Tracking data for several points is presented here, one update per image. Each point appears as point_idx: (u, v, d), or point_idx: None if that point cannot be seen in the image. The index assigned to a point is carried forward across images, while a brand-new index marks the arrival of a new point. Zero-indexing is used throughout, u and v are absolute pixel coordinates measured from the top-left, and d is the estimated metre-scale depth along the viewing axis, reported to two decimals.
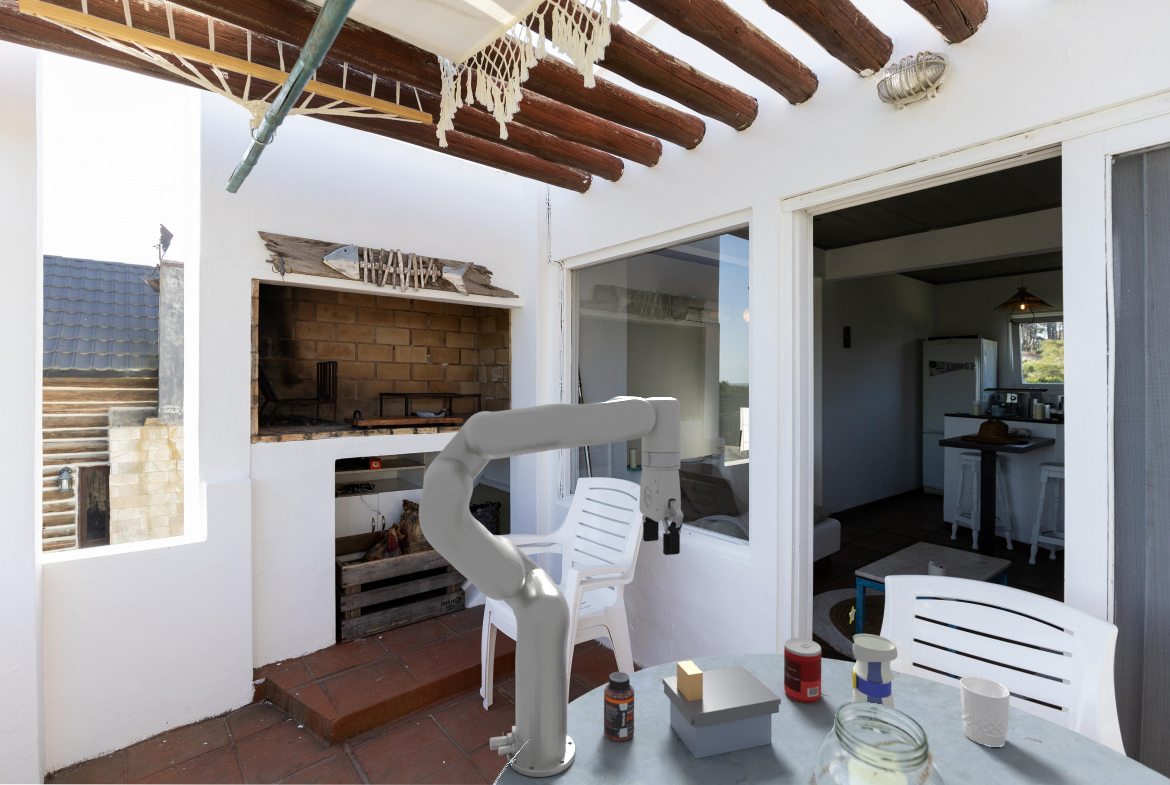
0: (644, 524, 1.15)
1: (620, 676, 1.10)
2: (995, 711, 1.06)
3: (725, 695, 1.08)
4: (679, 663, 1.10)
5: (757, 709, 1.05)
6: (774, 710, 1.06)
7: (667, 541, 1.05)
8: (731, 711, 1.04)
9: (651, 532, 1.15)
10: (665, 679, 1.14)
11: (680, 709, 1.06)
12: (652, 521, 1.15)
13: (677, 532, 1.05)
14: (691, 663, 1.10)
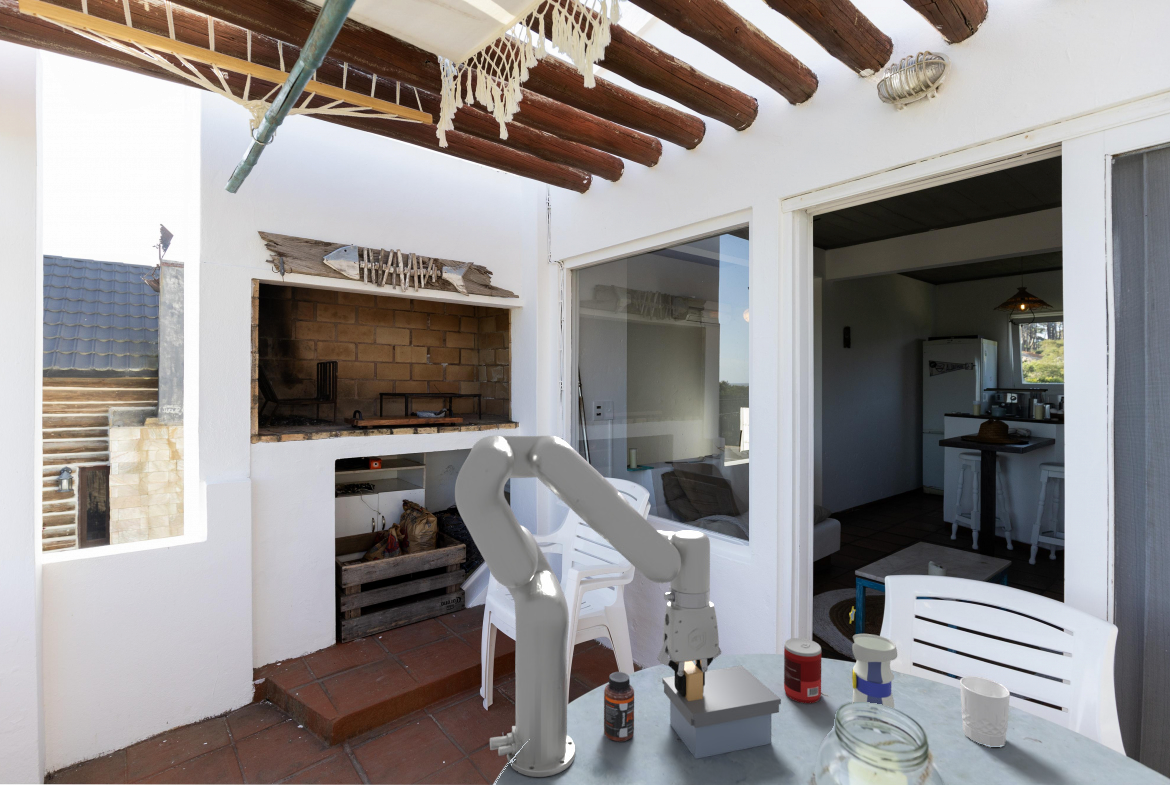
0: (685, 678, 1.07)
1: (620, 676, 1.10)
2: (995, 711, 1.06)
3: (725, 695, 1.08)
4: None
5: (757, 709, 1.05)
6: (774, 710, 1.06)
7: None
8: (731, 711, 1.04)
9: None
10: (665, 679, 1.14)
11: (680, 709, 1.06)
12: None
13: None
14: (691, 663, 1.10)
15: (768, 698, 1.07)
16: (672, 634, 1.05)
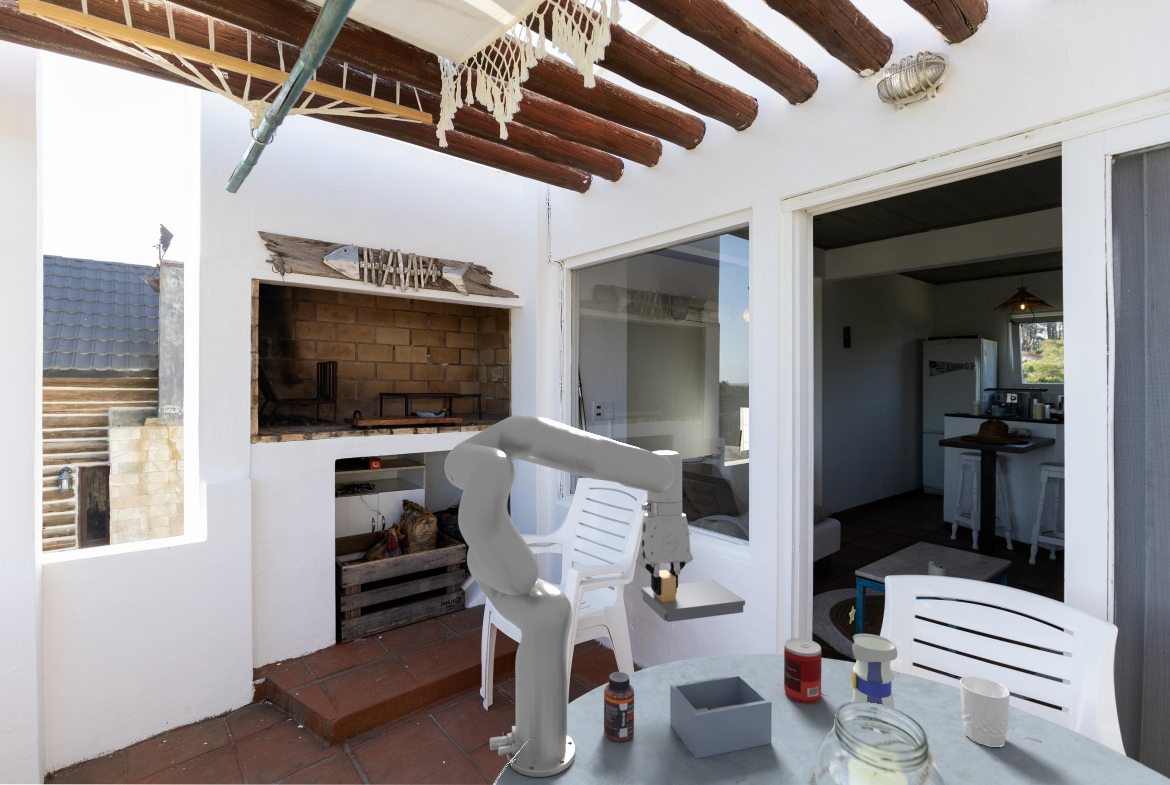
0: (660, 579, 1.20)
1: (620, 676, 1.10)
2: (995, 711, 1.06)
3: (696, 598, 1.22)
4: None
5: (724, 609, 1.19)
6: (739, 610, 1.20)
7: None
8: (700, 609, 1.17)
9: None
10: (644, 588, 1.27)
11: (656, 609, 1.20)
12: None
13: None
14: (666, 571, 1.24)
15: (734, 600, 1.21)
16: (648, 539, 1.19)
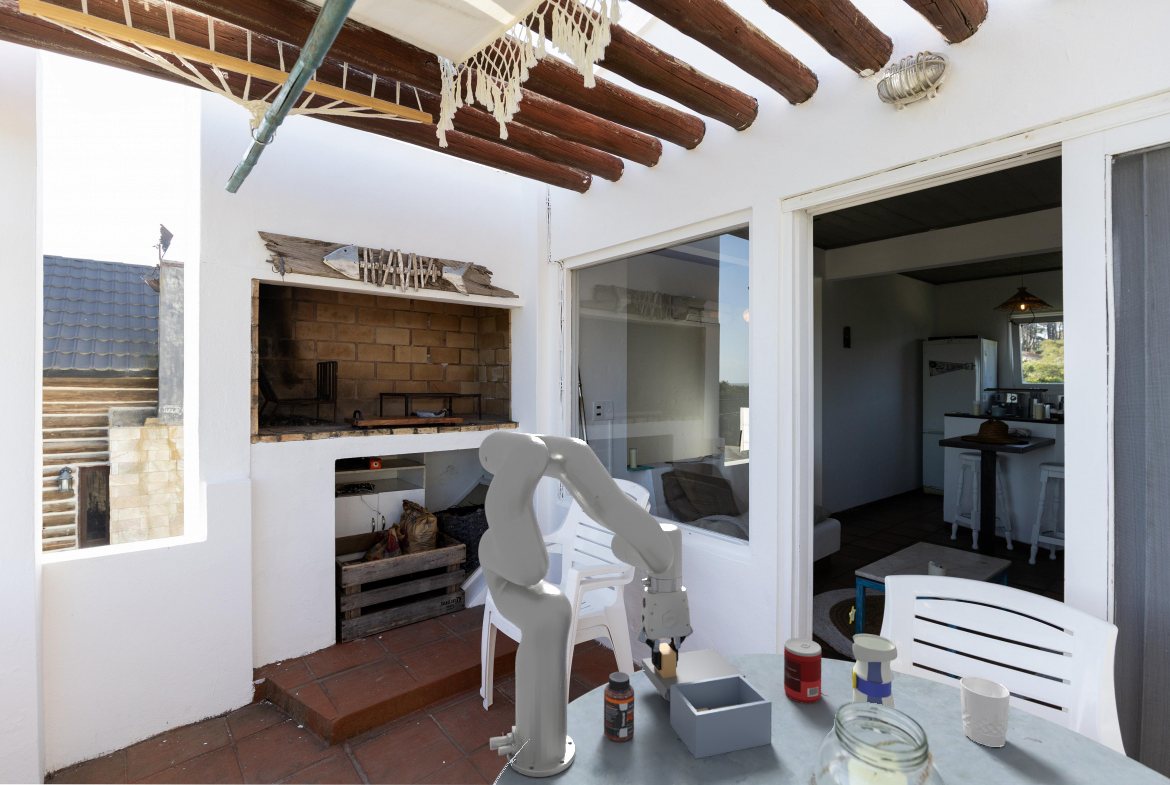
0: (660, 654, 1.21)
1: (620, 676, 1.10)
2: (995, 711, 1.06)
3: (696, 673, 1.22)
4: None
5: None
6: None
7: None
8: None
9: None
10: (644, 660, 1.28)
11: (656, 685, 1.20)
12: None
13: None
14: (666, 645, 1.24)
15: None
16: (648, 615, 1.19)
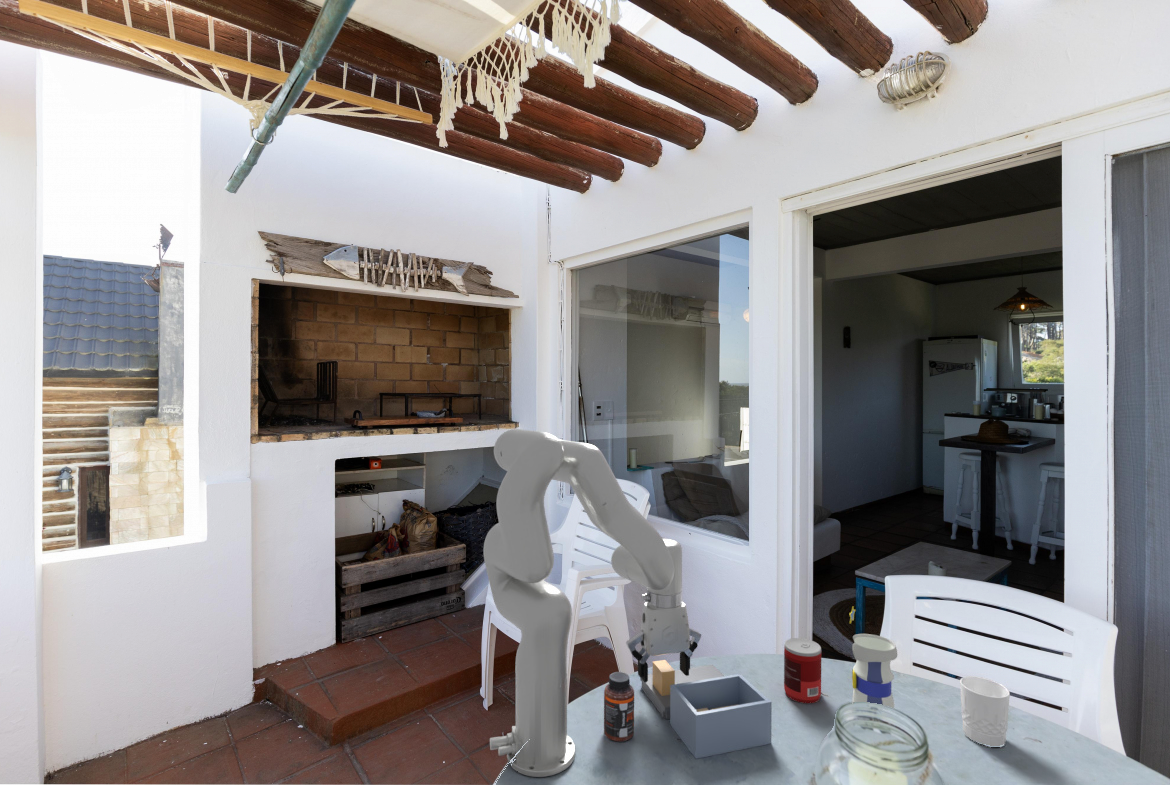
0: (646, 666, 1.20)
1: (620, 676, 1.10)
2: (995, 711, 1.06)
3: None
4: (654, 662, 1.24)
5: None
6: None
7: None
8: None
9: None
10: None
11: (654, 703, 1.20)
12: None
13: None
14: (665, 662, 1.24)
15: None
16: (648, 631, 1.19)
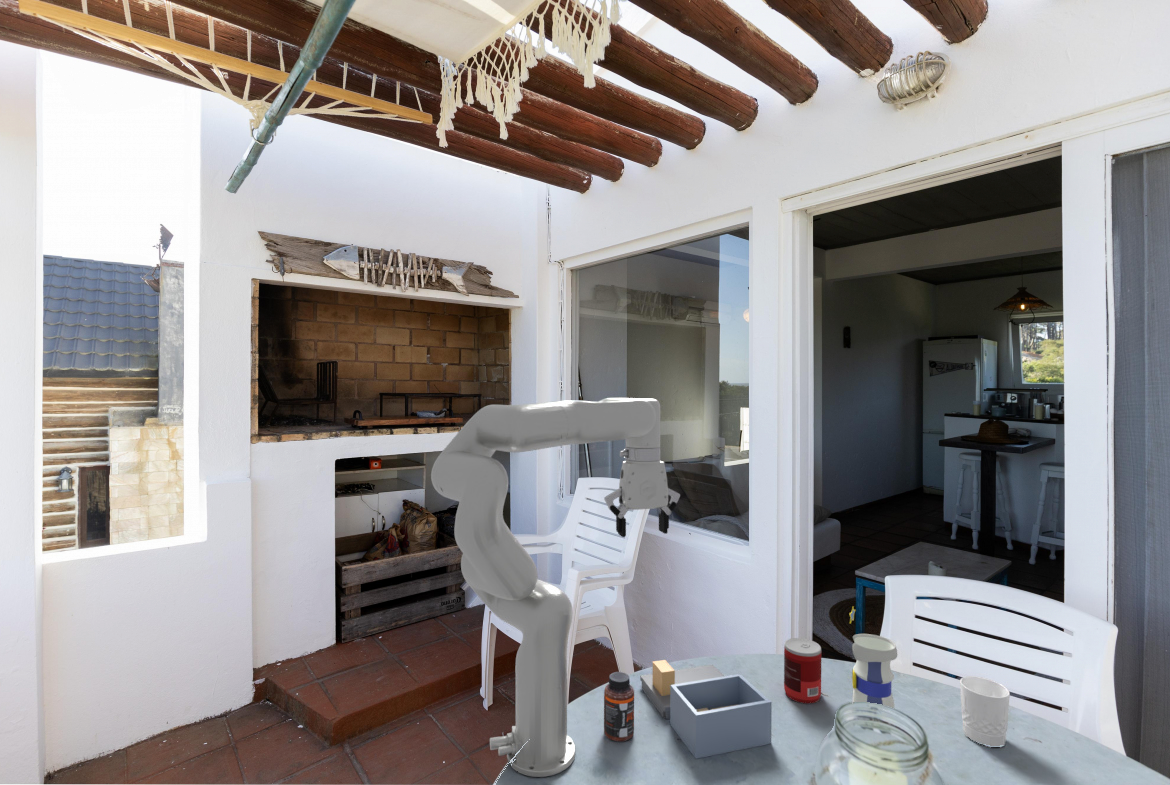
0: (624, 520, 1.20)
1: (620, 676, 1.10)
2: (995, 711, 1.06)
3: None
4: (654, 662, 1.24)
5: None
6: None
7: None
8: None
9: None
10: (642, 676, 1.28)
11: (654, 703, 1.20)
12: None
13: None
14: (665, 662, 1.24)
15: None
16: (626, 484, 1.19)
